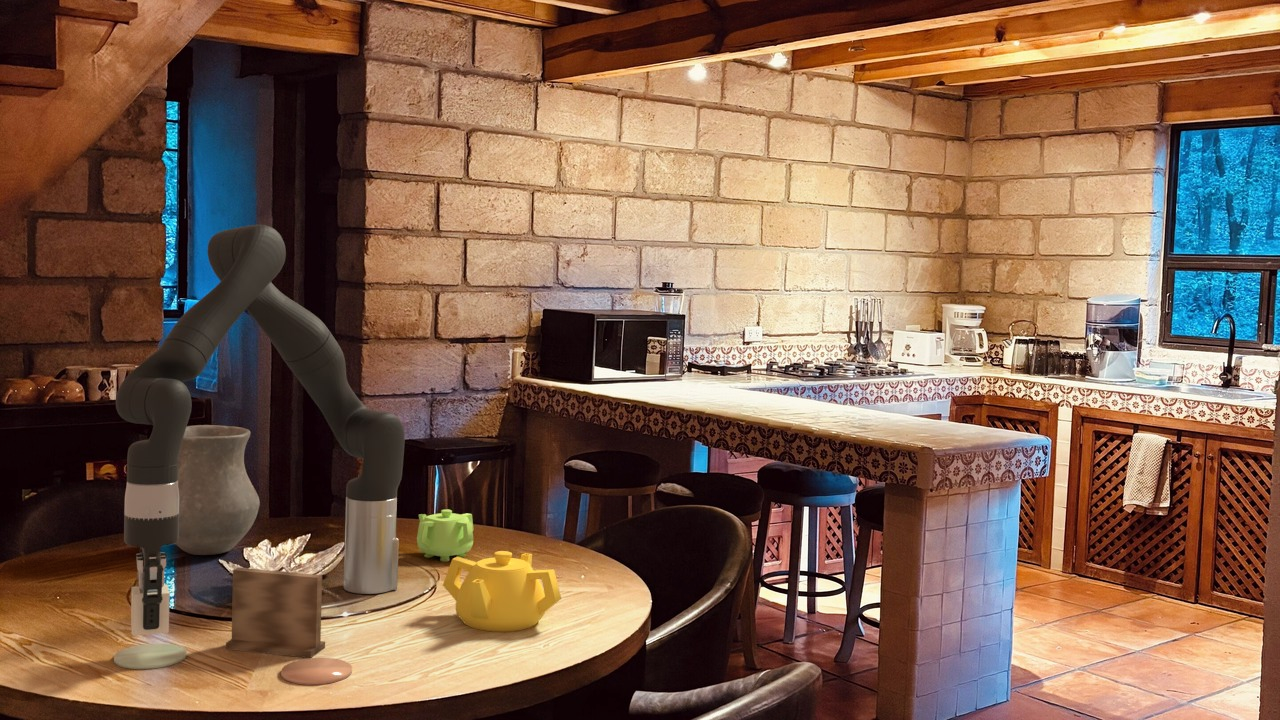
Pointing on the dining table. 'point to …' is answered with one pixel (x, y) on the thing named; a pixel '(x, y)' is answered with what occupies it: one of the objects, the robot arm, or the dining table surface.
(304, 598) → the occluder board
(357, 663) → the dining table surface
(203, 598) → the dining table surface
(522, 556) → the teapot
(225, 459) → the vase
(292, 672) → the terracotta coaster
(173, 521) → the robot arm
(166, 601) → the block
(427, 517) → the teapot
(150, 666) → the sage coaster
